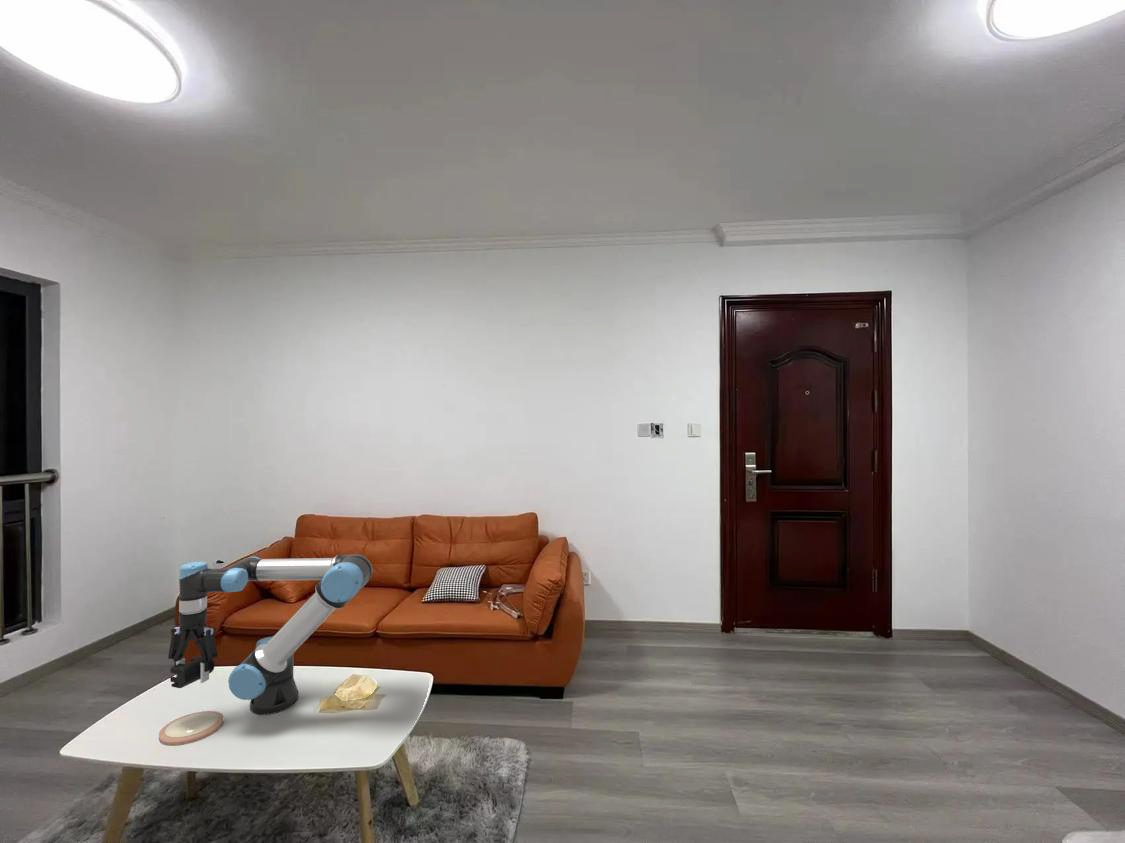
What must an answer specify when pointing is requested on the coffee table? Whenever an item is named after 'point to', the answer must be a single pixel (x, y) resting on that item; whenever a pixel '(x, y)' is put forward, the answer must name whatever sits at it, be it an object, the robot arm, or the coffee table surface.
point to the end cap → (188, 672)
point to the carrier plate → (191, 728)
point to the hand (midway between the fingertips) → (192, 680)
